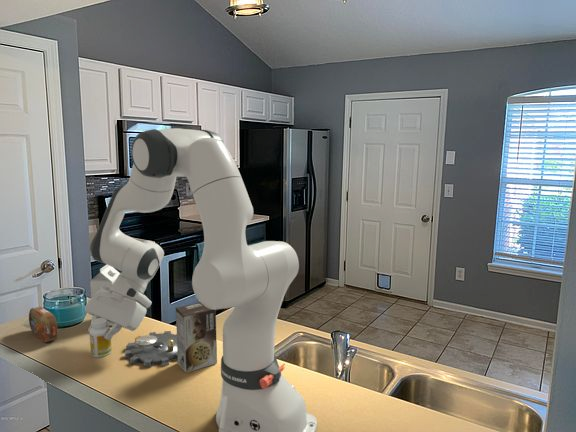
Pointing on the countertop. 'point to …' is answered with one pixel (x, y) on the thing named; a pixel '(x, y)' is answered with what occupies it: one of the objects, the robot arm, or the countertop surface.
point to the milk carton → (104, 281)
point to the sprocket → (153, 349)
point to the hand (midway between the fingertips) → (98, 336)
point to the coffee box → (196, 336)
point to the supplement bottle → (99, 338)
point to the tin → (43, 324)
